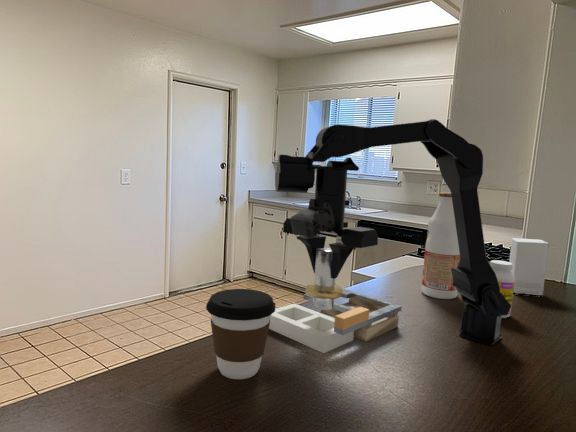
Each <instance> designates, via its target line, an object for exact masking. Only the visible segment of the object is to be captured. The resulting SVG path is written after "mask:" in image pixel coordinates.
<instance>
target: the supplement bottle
mask: <svg viewBox="0 0 576 432" xmlns="http://www.w3.org/2000/svg"><path fill="white" fill-rule="evenodd" d="M489 264H490V265H491V267H492V269H493V270H494V272H495V274H496V277H497V280H498V283H499V286H500V293H501V294H502V295H503V296H504V297H505V299H506V300H507V301H508V302H509V303H510V305H511V308H510V310H509V312H508V314H507V315H502V317H501V319H507V317H508V318H510V316H511V313H512V306H513V300H514V299H513V298H514V294H513V293H514V285H515V277H514V275H513V274H511V273H510V272H511V269H512V263H510V262H509V261H505V260H497V259H493V260H490V262H489Z"/></svg>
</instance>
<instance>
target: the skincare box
mask: <svg viewBox="0 0 576 432" xmlns="http://www.w3.org/2000/svg"><path fill="white" fill-rule="evenodd" d="M549 246H550V243H549V242H547V241H545V240H543V239H536V238H520V237H519V238H518V237H511V243H510V253H509V261H508V262H510V263H512V269H511V272H510V273H511V274H513V275H514V277H515V285H514V292H515V293H525V294H533V295H543V296H544V288H545V280H546V272H547V271H546V269H547V263H548V262H547V261H548V254H549V253H548V252H549Z"/></svg>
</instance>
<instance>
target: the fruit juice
mask: <svg viewBox="0 0 576 432" xmlns="http://www.w3.org/2000/svg"><path fill="white" fill-rule="evenodd" d="M438 198H439V202H438V205H437V207H436V208H435V210H434V213H433V214H432V216H431V217H430V218H429V219H428V222H427V223H428V224H427V227H428V237H427V239H426V241H425V247H424V258H423V269H422V270H423V271H422V282H421V292H422V293H423V295H425V296H428V297H430V298H434V299H440V300H452V299H453V300H454V299H455V298H456V299H457V297H458V293H459V292H458V291H457V289H456V287H454V286H453V275H452V272H451V268H455V267H458V264H459V262H460V252H459V245H458V238H457V231H456V224H455V217H454V210H453V203H452V196H451V192H449V191H447V192H444V191H441V192H439V193H438Z"/></svg>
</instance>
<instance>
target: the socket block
mask: <svg viewBox="0 0 576 432" xmlns="http://www.w3.org/2000/svg"><path fill="white" fill-rule="evenodd" d="M341 305H344V306H347V307H350V308H353V309H355V308H358V307H363V308H366V309H369V313H370V312H373V311H376V310H378V309H381V308H383V307H381V306H378V305H375V304H371V303H368V302H365V301H362V300H359V299H355V298H352V297H351V298H348V302H345V303H343V304H341ZM319 313H322V314H324V315H327V316H330V317H333V318H335V316H336V315H338V314H341V313H343V312H340V311H337V310H334V309H330V310H321V309H320V311H319ZM398 314H399V312H397V313H395V314H392V315H390V316H388V317H385V318H383V319H381V320H378V321H376V322H373V323H371V324H369V325H366V326H364V327H361V328H359V329H357V330H354V336H353V338H356V339H359V340H361V341H364V342H368V341H370V340H372V339H375V338H377V337H379V336H382V335H383V334H386V333H387V332H389V331H392V330H394V329H396V328H398V327H399V315H398Z"/></svg>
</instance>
